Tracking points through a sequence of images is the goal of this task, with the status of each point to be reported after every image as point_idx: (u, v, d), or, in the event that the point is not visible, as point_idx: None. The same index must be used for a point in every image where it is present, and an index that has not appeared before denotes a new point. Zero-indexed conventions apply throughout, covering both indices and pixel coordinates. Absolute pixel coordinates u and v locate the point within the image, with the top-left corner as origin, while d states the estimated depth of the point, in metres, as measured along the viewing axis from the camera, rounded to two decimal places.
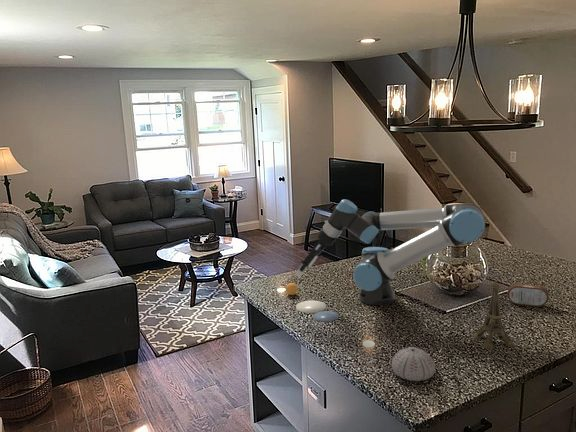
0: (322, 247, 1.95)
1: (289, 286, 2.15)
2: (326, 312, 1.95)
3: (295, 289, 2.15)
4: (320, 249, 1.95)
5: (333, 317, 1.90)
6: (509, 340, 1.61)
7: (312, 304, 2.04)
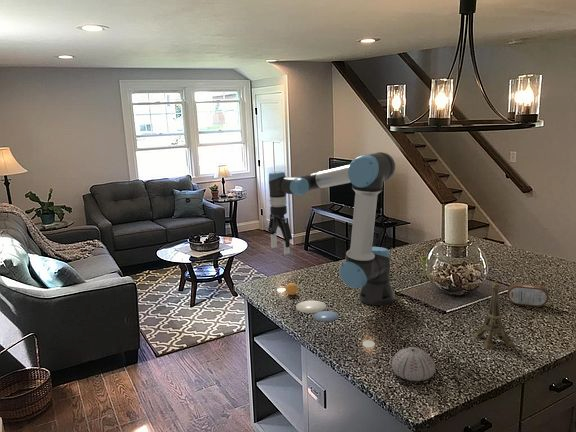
0: None
1: (289, 286, 2.15)
2: (326, 312, 1.95)
3: (295, 289, 2.15)
4: None
5: (333, 317, 1.90)
6: (509, 340, 1.61)
7: (312, 304, 2.04)
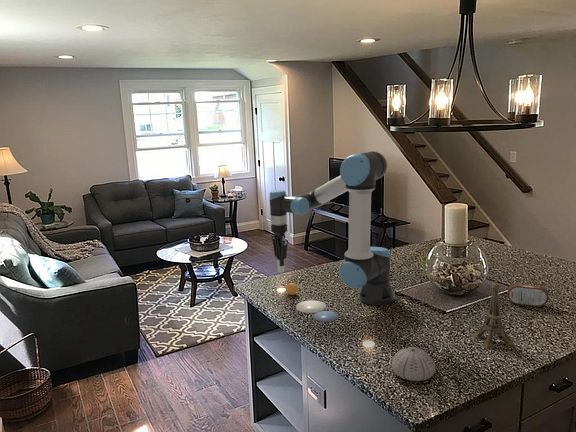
0: None
1: (289, 286, 2.15)
2: (326, 312, 1.95)
3: (295, 289, 2.15)
4: None
5: (333, 317, 1.90)
6: (509, 340, 1.61)
7: (312, 304, 2.04)
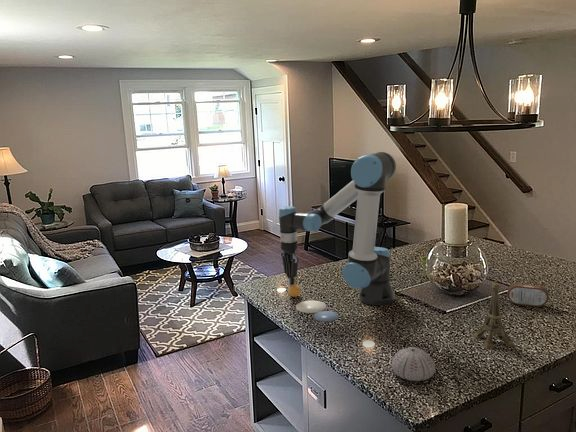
0: None
1: (293, 291, 2.12)
2: (326, 312, 1.95)
3: (298, 294, 2.13)
4: None
5: (333, 317, 1.90)
6: (509, 340, 1.61)
7: (312, 304, 2.04)
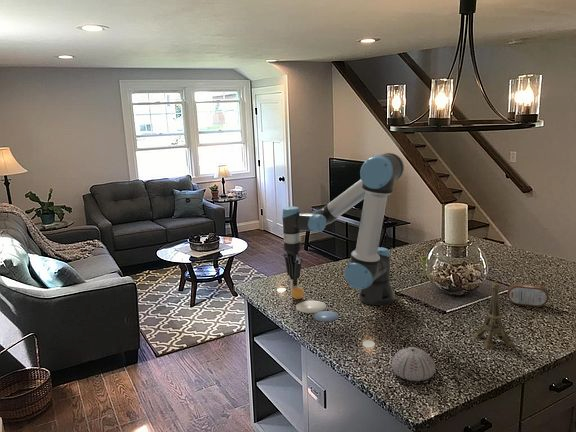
0: None
1: (296, 295, 2.09)
2: (326, 312, 1.95)
3: (300, 298, 2.11)
4: None
5: (333, 317, 1.90)
6: (509, 340, 1.61)
7: (312, 304, 2.04)
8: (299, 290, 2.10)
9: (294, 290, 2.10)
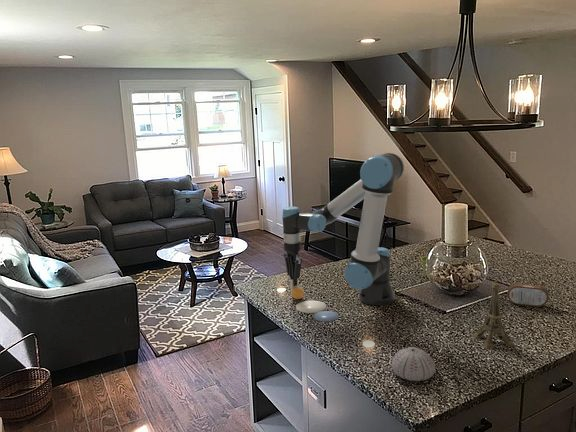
0: None
1: (296, 295, 2.09)
2: (326, 312, 1.95)
3: (300, 298, 2.11)
4: None
5: (333, 317, 1.90)
6: (509, 340, 1.61)
7: (312, 304, 2.04)
8: (299, 290, 2.10)
9: (294, 290, 2.10)
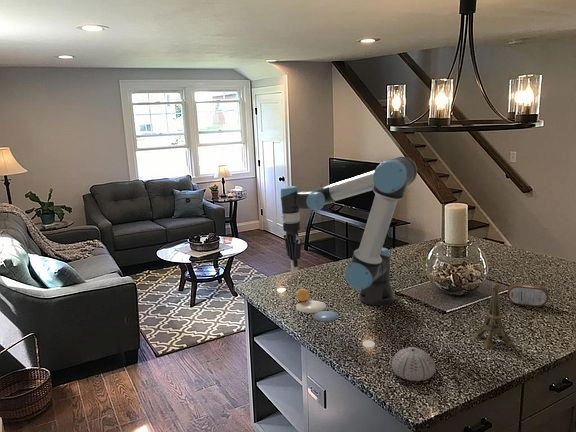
0: None
1: (300, 300, 2.08)
2: (326, 312, 1.95)
3: None
4: None
5: (333, 317, 1.90)
6: (509, 340, 1.61)
7: (312, 304, 2.04)
8: (305, 299, 2.07)
9: (302, 296, 2.06)
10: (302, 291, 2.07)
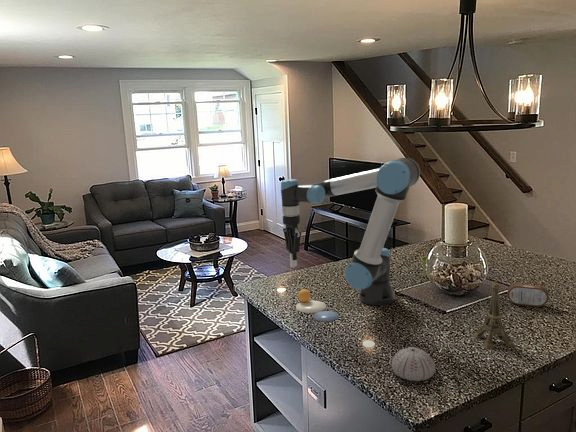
0: None
1: (300, 300, 2.07)
2: (326, 312, 1.95)
3: None
4: None
5: (333, 317, 1.90)
6: (509, 340, 1.61)
7: (312, 304, 2.04)
8: (306, 301, 2.07)
9: (303, 298, 2.06)
10: (305, 293, 2.06)
